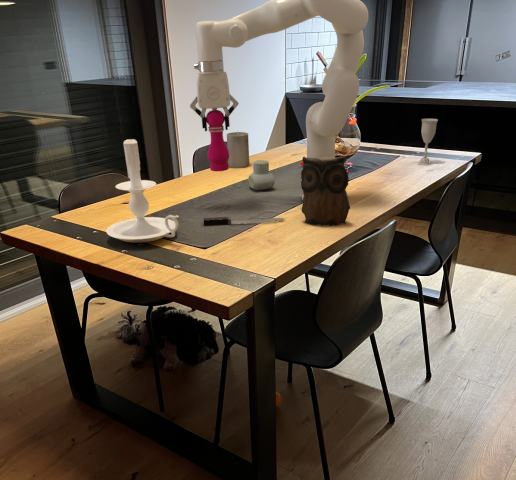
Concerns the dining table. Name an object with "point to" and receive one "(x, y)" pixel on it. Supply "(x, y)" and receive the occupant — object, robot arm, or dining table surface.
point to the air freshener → (261, 176)
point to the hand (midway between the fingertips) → (216, 129)
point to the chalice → (427, 136)
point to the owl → (325, 191)
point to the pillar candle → (238, 149)
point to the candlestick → (140, 206)
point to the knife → (237, 221)
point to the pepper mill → (217, 141)
